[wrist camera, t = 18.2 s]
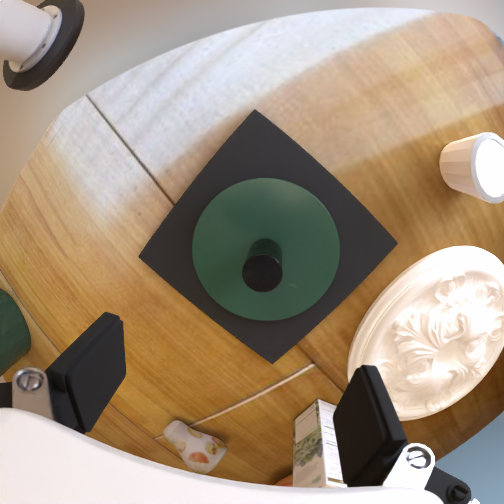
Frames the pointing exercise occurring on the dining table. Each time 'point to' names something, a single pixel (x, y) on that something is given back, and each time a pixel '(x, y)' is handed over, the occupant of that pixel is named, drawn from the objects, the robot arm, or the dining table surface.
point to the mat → (279, 167)
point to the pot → (12, 333)
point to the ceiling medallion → (434, 330)
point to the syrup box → (316, 448)
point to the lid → (265, 249)
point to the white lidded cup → (475, 166)
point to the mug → (195, 447)
